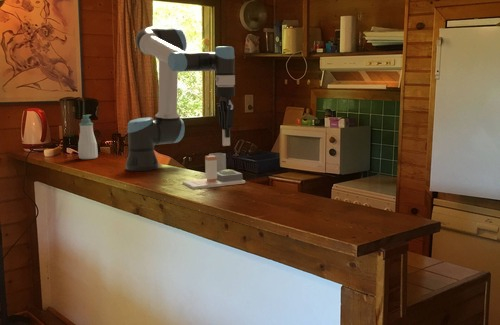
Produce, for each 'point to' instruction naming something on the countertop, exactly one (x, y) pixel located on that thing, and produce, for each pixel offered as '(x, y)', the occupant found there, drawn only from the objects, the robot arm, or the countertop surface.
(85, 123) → the soap bottle
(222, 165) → the cup
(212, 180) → the grey and orange block
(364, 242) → the countertop surface
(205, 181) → the board
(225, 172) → the button
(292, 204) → the countertop surface
